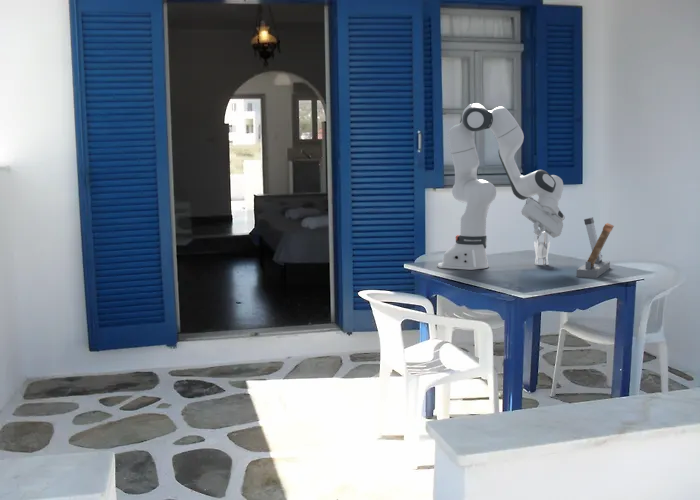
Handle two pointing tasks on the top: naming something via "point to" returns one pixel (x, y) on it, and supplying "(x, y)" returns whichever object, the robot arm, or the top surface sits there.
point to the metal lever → (592, 234)
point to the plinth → (593, 269)
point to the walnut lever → (600, 243)
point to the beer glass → (542, 248)
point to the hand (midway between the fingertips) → (537, 233)
